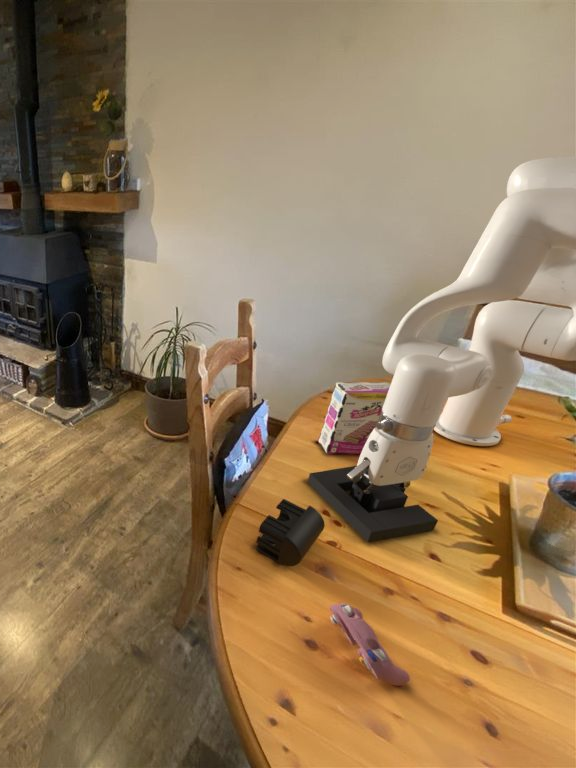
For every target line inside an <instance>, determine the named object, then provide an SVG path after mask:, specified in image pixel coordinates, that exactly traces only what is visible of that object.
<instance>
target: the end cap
mask: <svg viewBox="0 0 576 768" xmlns="http://www.w3.org/2000/svg"><path fill="white" fill-rule="evenodd" d="M276 509H277V510H279V515H278V517H277V518H275V517H274V516H272V515H270V514H268V515H267V516H266V517H265V518H264V520H263V521H262V522H261V523H260V525H259V530H258V533H260V534H262V535H261V536H260V535H258V536H257V538H256V548H255V549H256V551H257V552H259V553H260V554H262V555H264V556H265V557H267V558H268V559H270V560H272V561H274V562H276V563H277V564H279V565H283V566H287V567H293V566H297V565H299V563H301V562H302V560H303V559H304V558H305V556H306V555H307V553H308V552H309V550H310V549H311V548H312V546H313V545H314V543H315V542H316V541H317V539H319V536H320V535H321V534H322V532H323V531H324V529H325V527H326V526H325V520H324V518H323V516H322V515H321V513H320V512H319V511H318V510H317V509H316V508H314V507H312V506H311V505H308V507H307V508H306V509H305V508H303V507H301V506H299V505H297V504H295V503H293V502H291V501H289V500H287V499H285V498H282V500H280V502H279V503H278V504H277V505H276Z"/></svg>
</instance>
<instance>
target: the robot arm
mask: <svg viewBox="0 0 576 768" xmlns="http://www.w3.org/2000/svg"><path fill="white" fill-rule="evenodd" d="M515 299H520V300H515ZM522 300H523V301H522ZM525 300H526V301H525ZM529 301H532V302H529ZM535 302H538V303H535ZM542 303H545V304H542ZM482 304H486V305H485V306H483V307H482V308H481V309H480V310H479V312H478V314H477V316H476V319H475V322H474V327H473V331H472V336H471V341H470V345H469V348H468V349H466V348H462V347H458V346H454V345H450V344H446V343H441V342H436V341H433V340H429V339H425V338H422V337H421V338H420V337H418V335H419V334H420V332H421V331H422V329H423V328H424V327H425V326H426V324H427V323H428V322H429V321H431V320H433V318H435V317H437V316H439V315H442V314H443V313H445V312H446V313H447V312H448V311H451V310H456V309H459V308H464V307H468V306H476V305H482ZM549 304H551V305H549ZM553 305H557V306H553ZM560 306H564V307H560ZM567 307H569V308H567ZM387 343H388V344H387V346H386V347H385V350H384V352H383V355H382V359H381V360H382V362H381V363H382V367H383V369H384V370H385V371H386V372H387V373H389V374H390V375H393V377H392V380H391V382H390V384H391V385H390V388H389V391H388V393H387V396H386V399H385V402H384V405H383V408H382V411H381V413H380V416H379V419H378V422H377V423H376V427H375V428H374V429H373V431H372V433H371V434H370V436H369V438H368V440H367V442H366V443H365V446H364V448H363V450H362V452H361V454H359V457H358V460H357V463H356V464H357V465H356V466H357V467H356V468H354V469H353V470H352V471H351V472H349V473H348V474H347V477H348V478H349V479H350V480H351V481H352V482H353V483H354V484H355V485H356V488H355V491H354V494H353V496H352V498H353V499H354V500H355V501H356V502H357V503H358V504H360V505H361V506H362V507H363V508H364V509H365V510H366V509H367V508H368V506H369V503H370V501H371V498H372V496H373V494H372V493H371V491H372V490H373V489H374V487H375V486H376V485H377V486H383V485H390V484H393V485H394V486H395V487H397V488H398V489H399V490H401V491H402V492H403V493H405V492H406V488H409V487H410V486H411V482H413V481H417V480H419V479H421V478H422V476H423V475H424V474H425V471H426V469H427V468H428V467H427V466H428V462H429V460H430V456H431V454H432V449H433V444H434V433H433V432H434V431H435V432H436V433H437V434H438V435H440V436H442V437H444V438H446V439H449V440H451V441H454V442H457V443H460V444H464V445H468V446H474V447H491V446H495V445H498V444H499V442H500V441H501V439H502V436H501V435H502V434H501V433H500V432H499V431H498V429H497V428H498V426H500V425H503V424H509V423H512V421H513V417H512V416H511V415H510V414H504V412H505V410H506V408H507V406H508V404H509V402H510V400H511V399H512V397H513V394H514V393H515V390H516V389H517V386H518V385H519V383H520V381H521V379H522V377H523V375H524V372H525V364H524V359H523V357H522V355H521V354H520V352H524V353H529V354H532V355H533V354H534V355H538V356H541V357H546V358H551V359H555V360H562V361H569V362H570V361H571V362H573V361H576V155H569V156H568V155H567V156H552V157H542V158H536V159H532V160H531V159H530V160H528V161H525V162H523V163H521V164H519V165H517V166H516V167H515V168H514V170H512V171H511V174H510V175H509V177H508V180H507V183H506V197H505V198H504V199H503V200H501V202H500V203H499V205H498V206H497V207H496V209H495V210H494V212H493V214H492V215H491V218H490V220H489V222H488V223H487V225H486V227H485V229H484V231H483V232H482V233H481V236H480V238H479V239H478V241H477V243H476V245H475V247H474V249H473V251H472V252H471V254H470V256H469V257H468V259H467V262H466V263H465V265H464V266H463V268H462V270H461V272H460V274H459V276H458V277H457V279H456V280H455V281H453V282H452V283H450V284H449V285H447V286H445V287H443V288H441V289H439V290H437V291H434V292H433V293H431V294H429V295H427V296H426V297H424V298H423V299H422V300H420V301H419V302H418V303H416V304H415V305H414V306H413V307H412V308H410V310H409V311H408V312H407V313H406V314H405V315H403V317H402V319H401V320H400V321H399V323H398V325H397V327H396V329H395V330H394V333H393V334H392V335H391V338H390V340H389V341H388V342H387ZM366 478H367V479H369V481H370V482H369V483H368V485H366V484H365V483H364V480H365V479H366Z"/></svg>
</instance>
